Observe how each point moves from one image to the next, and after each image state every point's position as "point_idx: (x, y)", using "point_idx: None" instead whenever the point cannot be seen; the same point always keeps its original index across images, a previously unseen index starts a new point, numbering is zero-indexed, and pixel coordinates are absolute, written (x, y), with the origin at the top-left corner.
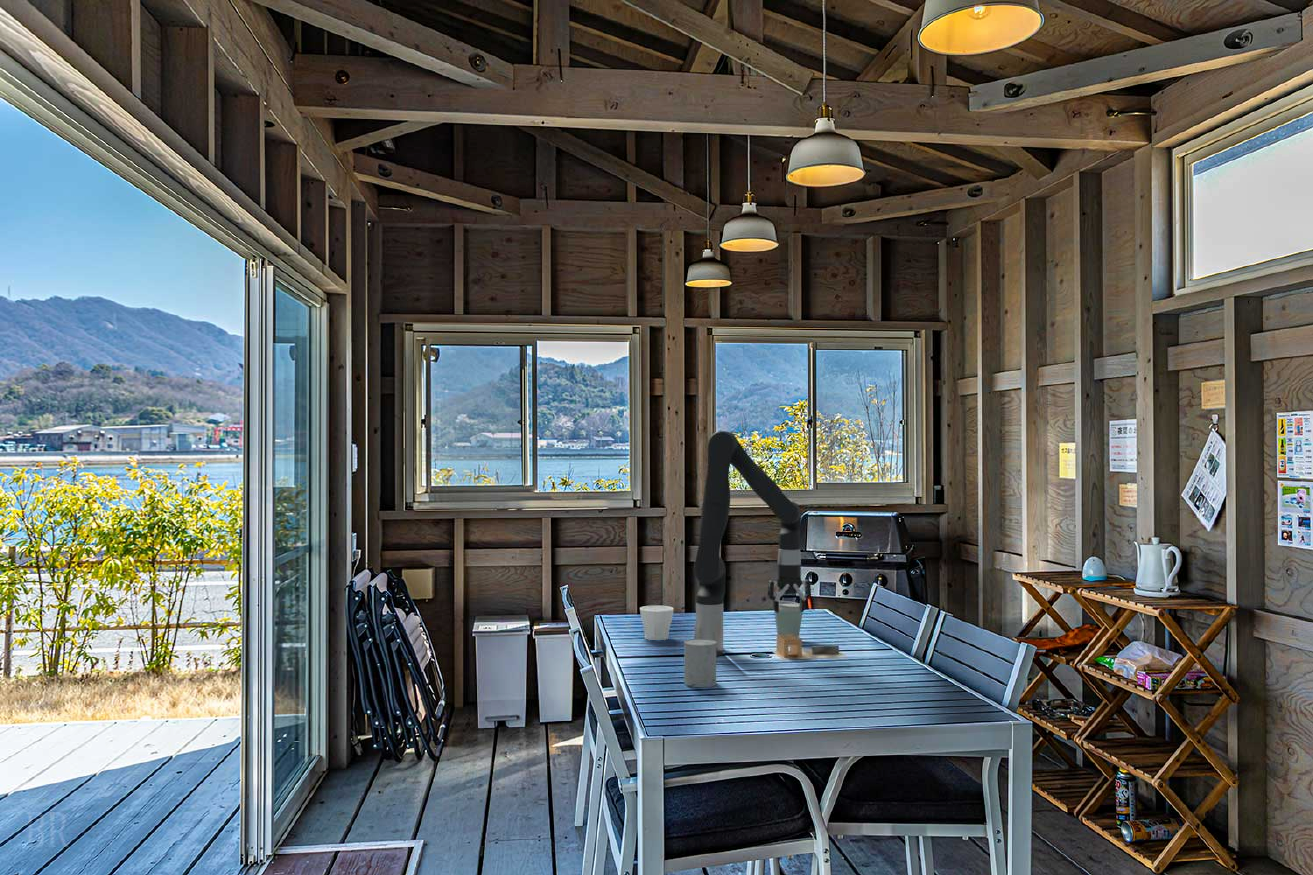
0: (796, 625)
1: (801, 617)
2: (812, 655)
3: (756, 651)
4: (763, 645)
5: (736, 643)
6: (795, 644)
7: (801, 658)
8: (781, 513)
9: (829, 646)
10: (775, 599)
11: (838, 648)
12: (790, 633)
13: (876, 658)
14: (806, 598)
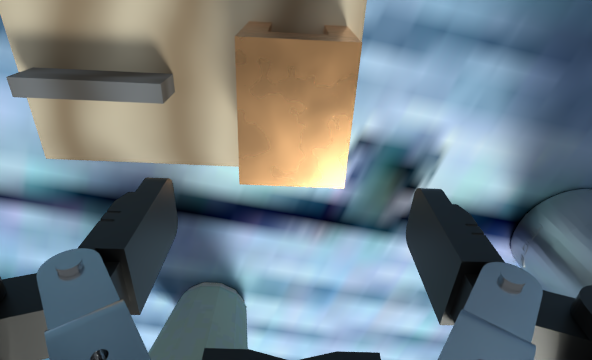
0: (169, 342)
1: None
2: (181, 51)
3: (369, 239)
4: (304, 308)
5: (381, 342)
6: (282, 32)
7: None
8: None
9: (63, 79)
10: (529, 281)
11: (18, 73)
12: (205, 316)
13: None
14: (33, 282)
